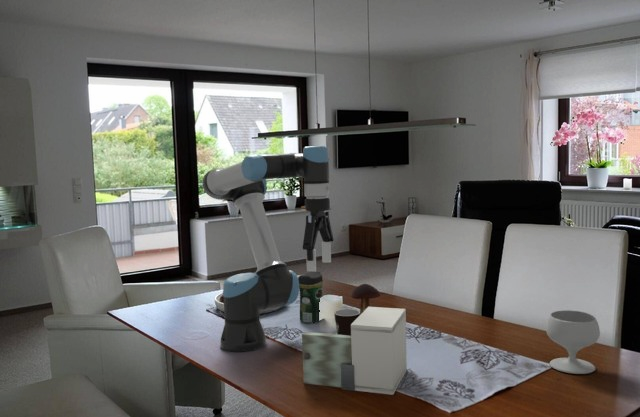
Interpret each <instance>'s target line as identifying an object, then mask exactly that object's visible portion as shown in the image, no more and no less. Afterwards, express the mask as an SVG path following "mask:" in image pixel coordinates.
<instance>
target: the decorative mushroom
mask: <svg viewBox="0 0 640 417" xmlns="http://www.w3.org/2000/svg"><path fill="white" fill-rule="evenodd" d="M379 297H381V292H380V291H379V290H378V289H377V288H375V287H374V286H373V285H370V284H368V283H363V284H362V283H361V284H360V285H358V286H356V287H355V288H354V290H352V292H351V294H350V298H351V299H355V300H356V299H357V300H360V306H359V311H360V315H361V314H362V313H363V312H364V311H365V310H366V309H367V308H368V307H372V306H371V302H370V299H371V300H372V299H377V298H379Z"/></svg>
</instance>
